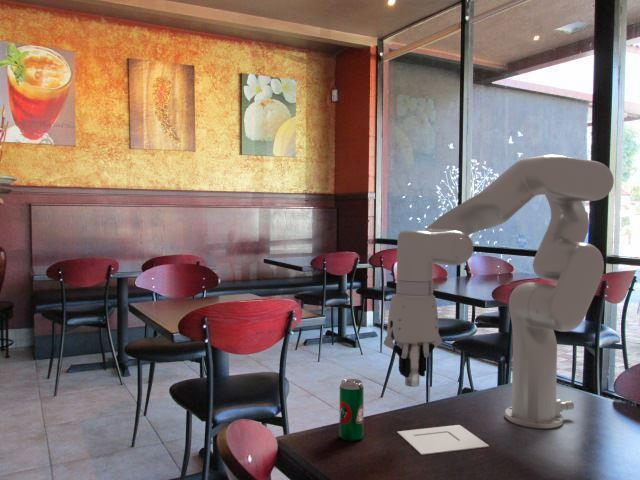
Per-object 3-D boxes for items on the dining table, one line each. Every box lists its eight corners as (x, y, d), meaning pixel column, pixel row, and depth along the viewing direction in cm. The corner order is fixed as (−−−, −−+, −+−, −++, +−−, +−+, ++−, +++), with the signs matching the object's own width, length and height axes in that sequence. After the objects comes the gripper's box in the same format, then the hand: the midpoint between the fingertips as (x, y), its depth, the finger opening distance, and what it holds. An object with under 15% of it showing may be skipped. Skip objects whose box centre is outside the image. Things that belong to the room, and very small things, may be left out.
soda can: (361, 443, 116) (361, 385, 115) (337, 441, 117) (337, 384, 116) (364, 433, 121) (364, 378, 120) (341, 432, 122) (341, 377, 121)
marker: (415, 382, 121) (416, 331, 120) (422, 386, 118) (423, 334, 117) (402, 383, 120) (403, 332, 119) (408, 387, 117) (409, 334, 116)
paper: (459, 425, 125) (459, 424, 125) (489, 446, 114) (489, 445, 114) (397, 432, 122) (397, 431, 122) (421, 454, 110) (421, 453, 110)
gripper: (441, 286, 124) (439, 368, 124) (371, 287, 119) (369, 372, 120) (458, 290, 117) (455, 378, 117) (384, 291, 112) (383, 382, 113)
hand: (412, 374), depth 119 cm, fingers closed on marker, 3 cm apart
